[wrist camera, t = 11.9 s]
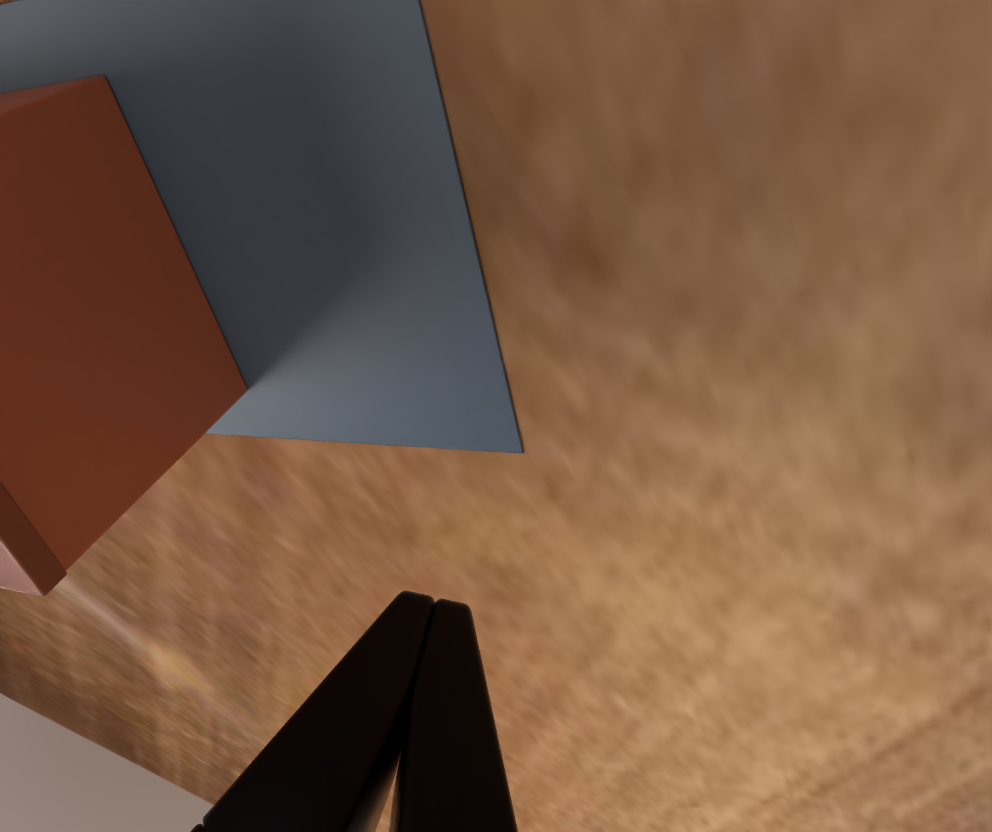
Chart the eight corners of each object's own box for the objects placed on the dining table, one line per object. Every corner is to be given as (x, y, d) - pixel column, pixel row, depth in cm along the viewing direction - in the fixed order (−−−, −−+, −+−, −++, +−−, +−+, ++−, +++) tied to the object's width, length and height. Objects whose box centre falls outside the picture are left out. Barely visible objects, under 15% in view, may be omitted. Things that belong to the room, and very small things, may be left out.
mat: (401, -95, 16) (396, -94, 16) (525, 449, 24) (522, 454, 23) (-268, 69, 25) (-274, 71, 25) (-24, 416, 33) (-28, 419, 33)
